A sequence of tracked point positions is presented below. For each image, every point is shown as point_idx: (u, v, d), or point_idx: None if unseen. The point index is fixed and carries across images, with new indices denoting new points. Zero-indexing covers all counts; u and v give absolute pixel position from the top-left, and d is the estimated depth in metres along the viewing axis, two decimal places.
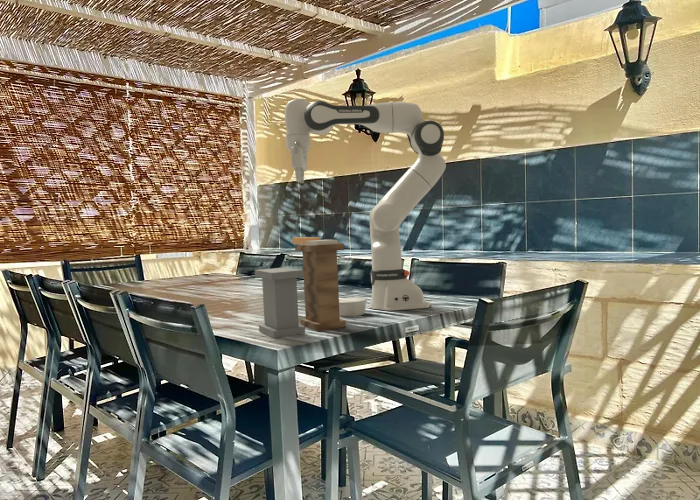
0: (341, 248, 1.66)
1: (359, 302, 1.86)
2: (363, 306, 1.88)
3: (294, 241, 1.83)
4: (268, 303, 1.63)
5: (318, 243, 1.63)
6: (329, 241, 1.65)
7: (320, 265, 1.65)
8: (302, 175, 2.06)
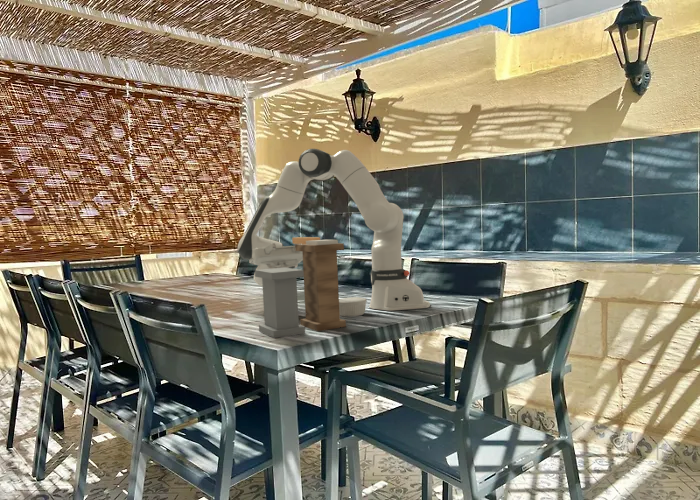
0: (341, 248, 1.66)
1: (359, 302, 1.86)
2: (363, 306, 1.88)
3: (294, 241, 1.83)
4: (268, 303, 1.63)
5: (318, 243, 1.63)
6: (329, 241, 1.65)
7: (320, 265, 1.65)
8: None
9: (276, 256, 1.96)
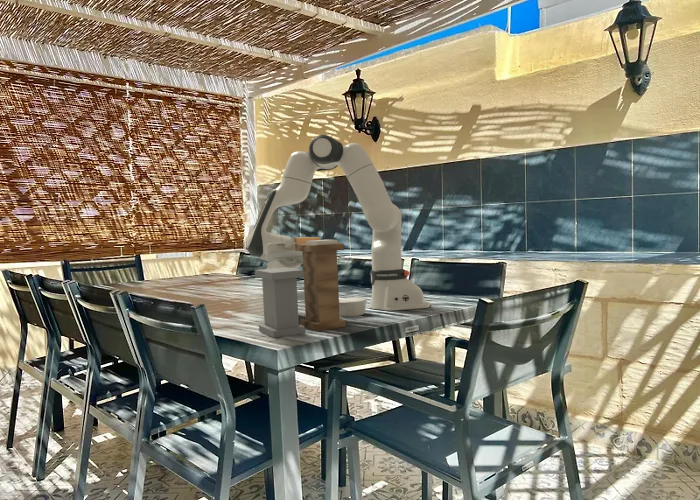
0: (341, 248, 1.66)
1: (359, 302, 1.86)
2: (363, 306, 1.88)
3: None
4: (268, 303, 1.63)
5: (318, 243, 1.63)
6: (329, 241, 1.65)
7: (320, 265, 1.65)
8: None
9: (289, 252, 1.85)
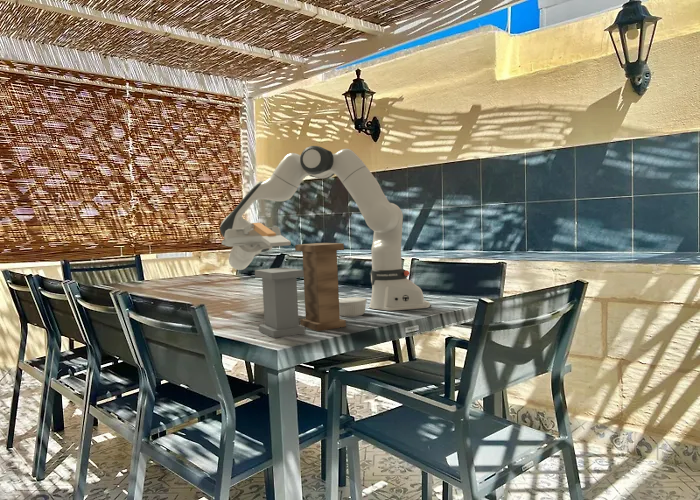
0: (341, 248, 1.66)
1: (359, 302, 1.86)
2: (363, 306, 1.88)
3: None
4: (268, 303, 1.63)
5: (271, 244, 1.72)
6: (282, 242, 1.74)
7: (320, 265, 1.65)
8: None
9: (249, 237, 1.93)
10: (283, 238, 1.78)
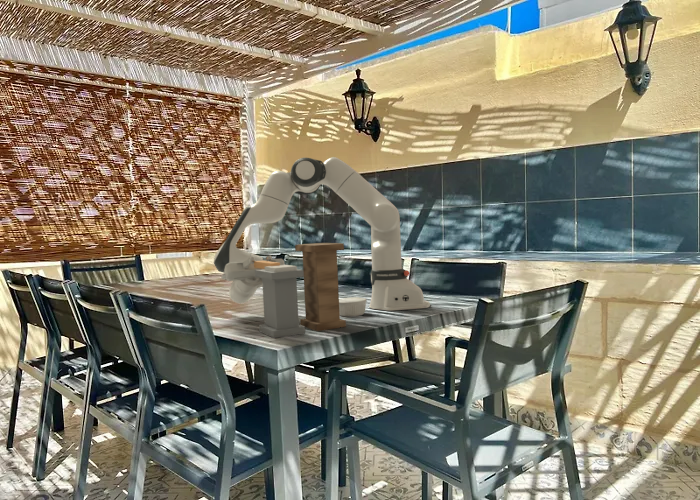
0: (341, 248, 1.66)
1: (359, 302, 1.86)
2: (363, 306, 1.88)
3: (255, 265, 1.76)
4: (268, 303, 1.63)
5: (275, 270, 1.57)
6: (287, 267, 1.59)
7: (320, 265, 1.65)
8: None
9: (251, 271, 1.78)
10: (288, 265, 1.63)
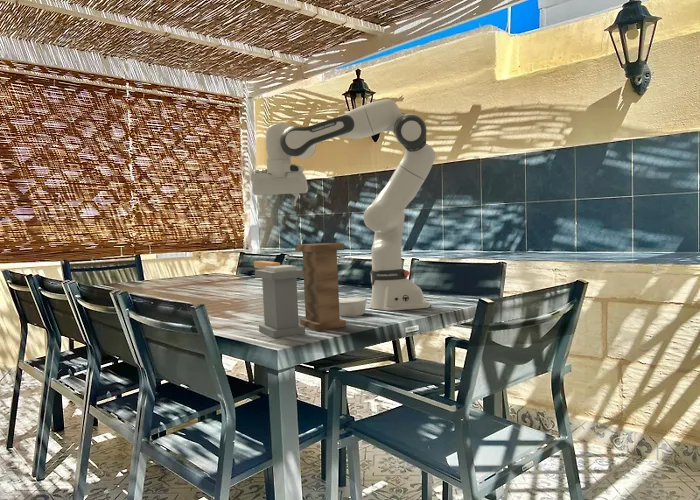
0: (341, 248, 1.66)
1: (359, 302, 1.86)
2: (363, 306, 1.88)
3: (255, 265, 1.76)
4: (268, 303, 1.63)
5: (275, 270, 1.57)
6: (287, 267, 1.59)
7: (320, 265, 1.65)
8: (295, 198, 1.98)
9: None
10: (288, 265, 1.63)
